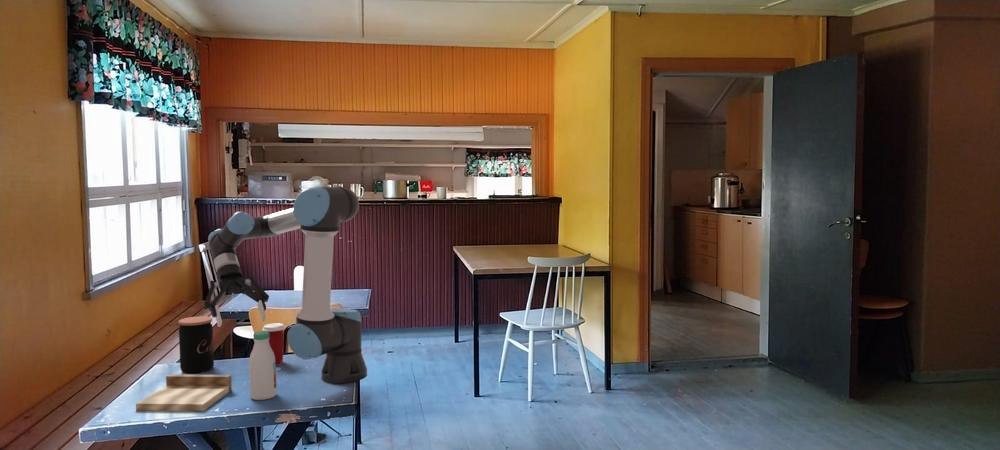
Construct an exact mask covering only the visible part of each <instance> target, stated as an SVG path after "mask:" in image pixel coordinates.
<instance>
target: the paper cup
mask: <svg viewBox="0 0 1000 450" xmlns="http://www.w3.org/2000/svg"><path fill="white" fill-rule="evenodd" d="M285 328H286V327H285V326H284V324H283V323H279V322H277V323H275V322H274V323H267V324H264V326H263V327H262V331H266V332H269V344H270V347H271V349H272V351H273V353H274V356H275V363H276V366H277V364H279V365H281V364H280V363H282V362H284V343H285V341H284V338H285V335H284V334H285ZM282 364H283V363H282Z"/></svg>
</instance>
